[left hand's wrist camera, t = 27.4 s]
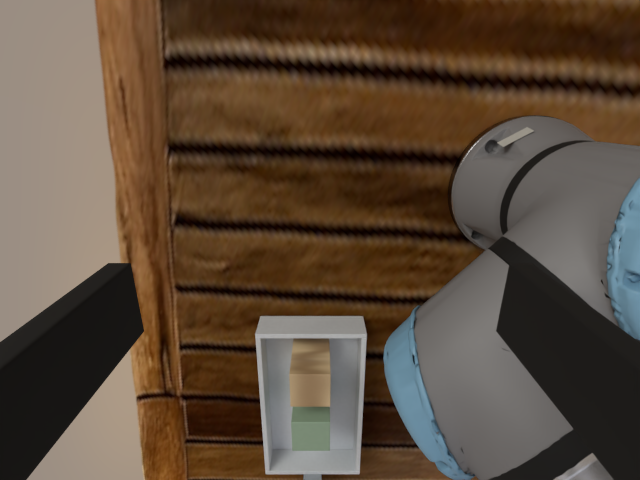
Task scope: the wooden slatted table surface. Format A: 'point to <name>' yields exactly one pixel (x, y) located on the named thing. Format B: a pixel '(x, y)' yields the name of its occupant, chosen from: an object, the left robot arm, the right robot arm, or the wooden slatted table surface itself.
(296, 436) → the sage block
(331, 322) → the tray
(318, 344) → the birch block
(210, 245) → the wooden slatted table surface
